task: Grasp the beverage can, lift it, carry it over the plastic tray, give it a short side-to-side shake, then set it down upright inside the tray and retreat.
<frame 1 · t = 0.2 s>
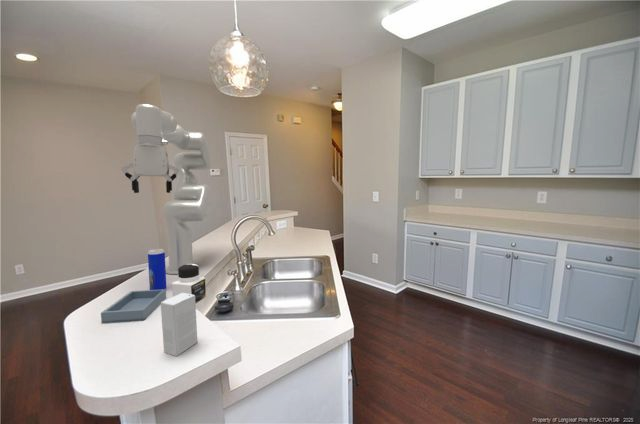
hand: (152, 192, 93), 35 cm above the counter, tool pointing down, fingers open, 9 cm apart
tray: (137, 309, 82), on the counter
beverage can: (158, 291, 97), on the counter
skincare box: (180, 348, 62), on the counter
medicine bottle: (190, 301, 88), on the counter
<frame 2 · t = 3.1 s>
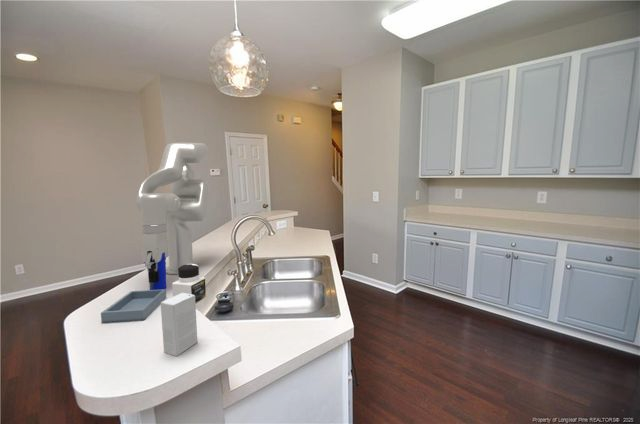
hand: (157, 278, 96), 4 cm above the counter, tool pointing down, fingers closed on beverage can, 5 cm apart
beverage can: (158, 291, 97), on the counter, touching gripper
everything else where it was.
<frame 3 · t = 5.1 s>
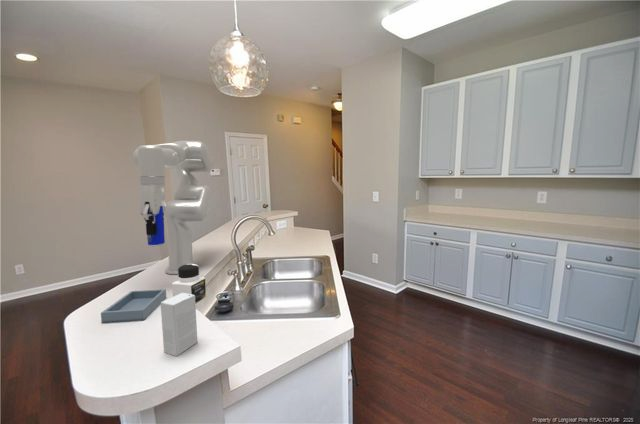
hand: (155, 232, 95), 21 cm above the counter, tool pointing down, fingers closed on beverage can, 5 cm apart
beverage can: (156, 245, 95), point 16 cm above the counter, touching gripper
everything else where it was.
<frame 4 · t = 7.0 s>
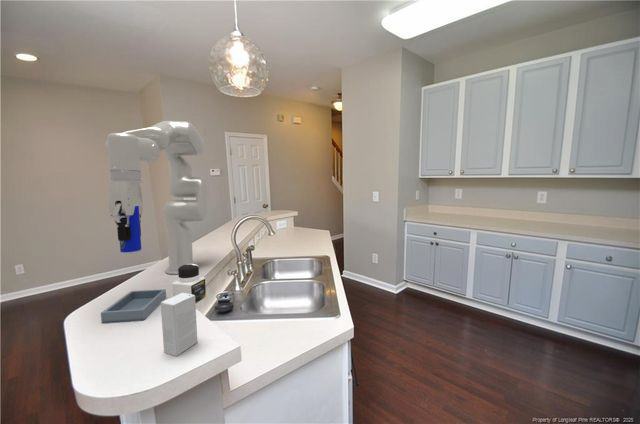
hand: (130, 237, 80), 22 cm above the counter, tool pointing down, fingers closed on beverage can, 5 cm apart
beverage can: (131, 253, 80), point 18 cm above the counter, touching gripper
everything else where it was.
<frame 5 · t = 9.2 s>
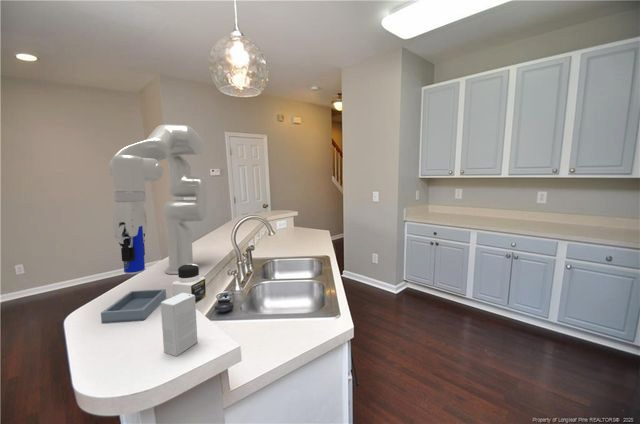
hand: (133, 257, 80), 16 cm above the counter, tool pointing down, fingers closed on beverage can, 5 cm apart
beverage can: (134, 272, 81), point 12 cm above the counter, touching gripper
everything else where it was.
when the fingers open (7 cm above the counter, at t = 11.2 s): beverage can drops 2 cm, resting on tray.
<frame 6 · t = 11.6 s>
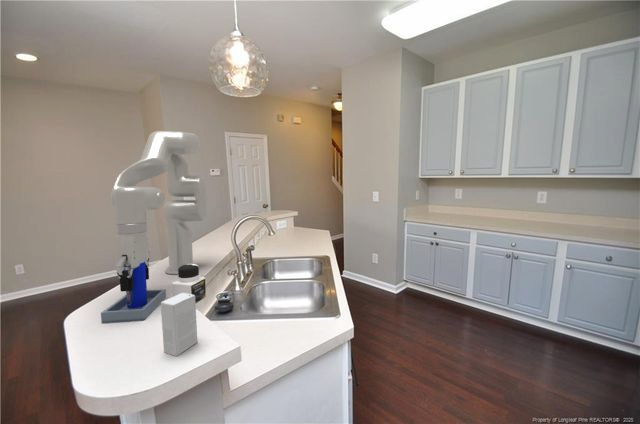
hand: (135, 284, 81), 8 cm above the counter, tool pointing down, fingers open, 9 cm apart
beverage can: (137, 307, 82), resting on tray
everything else where it was.
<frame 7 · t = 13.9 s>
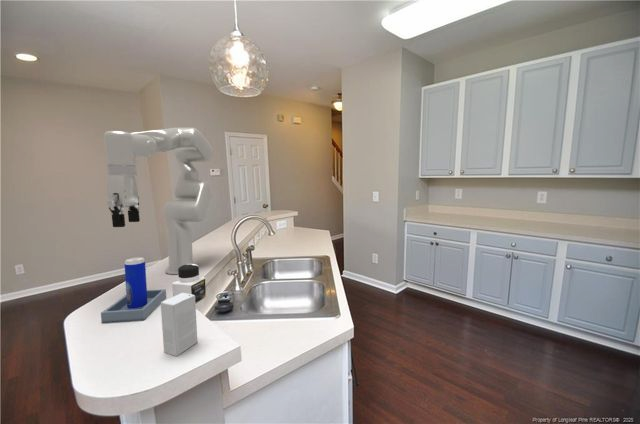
hand: (127, 224, 87), 25 cm above the counter, tool pointing down, fingers open, 9 cm apart
nothing on the counter moved.
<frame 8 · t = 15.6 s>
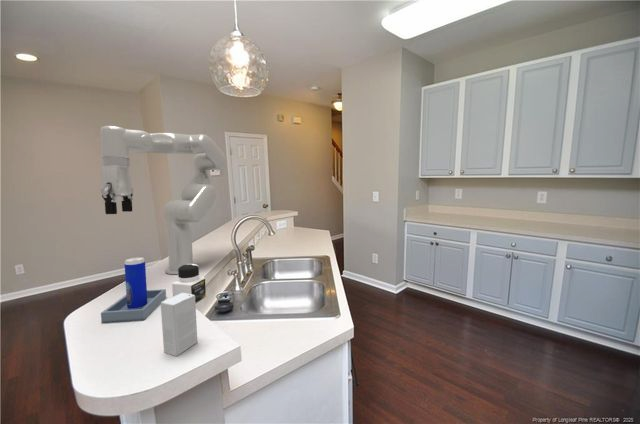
hand: (119, 212, 94), 28 cm above the counter, tool pointing down, fingers open, 9 cm apart
nothing on the counter moved.
at the end: beverage can inside the target area on the tray (0.3 cm from its centre), point 0.4 cm above the tray's base; beverage can tilted 0°; the gripper is holding nothing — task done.
